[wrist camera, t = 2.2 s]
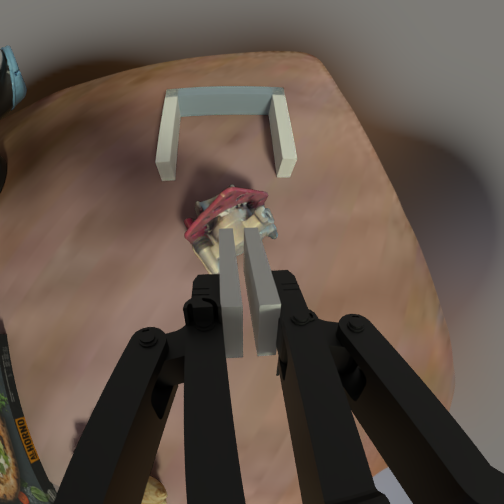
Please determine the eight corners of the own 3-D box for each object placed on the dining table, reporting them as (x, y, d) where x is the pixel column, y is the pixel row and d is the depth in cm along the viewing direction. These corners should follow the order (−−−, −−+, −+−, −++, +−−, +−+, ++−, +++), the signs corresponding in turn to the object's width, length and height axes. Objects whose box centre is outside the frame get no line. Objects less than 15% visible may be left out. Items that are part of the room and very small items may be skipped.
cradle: (289, 177, 42) (297, 158, 37) (162, 181, 40) (155, 162, 35) (278, 107, 46) (283, 87, 41) (170, 109, 44) (166, 89, 39)
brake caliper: (238, 165, 39) (278, 167, 28) (265, 232, 44) (309, 256, 33) (165, 202, 36) (177, 217, 26) (199, 269, 41) (224, 306, 31)
